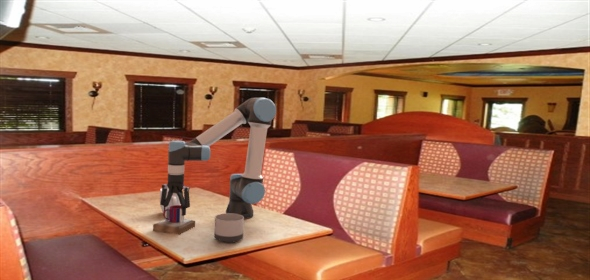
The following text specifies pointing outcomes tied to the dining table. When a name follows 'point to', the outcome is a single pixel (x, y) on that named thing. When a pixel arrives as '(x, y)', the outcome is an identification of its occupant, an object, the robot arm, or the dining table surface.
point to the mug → (172, 202)
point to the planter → (229, 227)
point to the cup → (173, 213)
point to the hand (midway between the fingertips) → (174, 220)
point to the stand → (173, 226)
